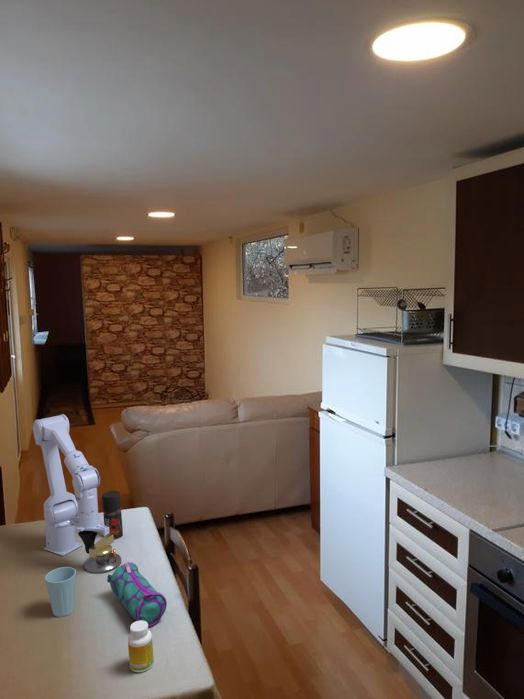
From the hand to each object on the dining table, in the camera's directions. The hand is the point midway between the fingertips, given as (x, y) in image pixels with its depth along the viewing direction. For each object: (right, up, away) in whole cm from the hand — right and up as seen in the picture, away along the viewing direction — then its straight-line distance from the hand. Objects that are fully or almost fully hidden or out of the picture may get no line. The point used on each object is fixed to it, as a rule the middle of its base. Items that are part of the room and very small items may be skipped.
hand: (90, 552), depth 166 cm
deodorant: (+1, -3, +22) cm, 23 cm away
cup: (-1, -9, -19) cm, 21 cm away
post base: (+3, -5, +4) cm, 7 cm away
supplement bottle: (+24, -11, -41) cm, 49 cm away
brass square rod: (+3, -1, +3) cm, 5 cm away
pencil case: (+19, -8, -19) cm, 28 cm away
